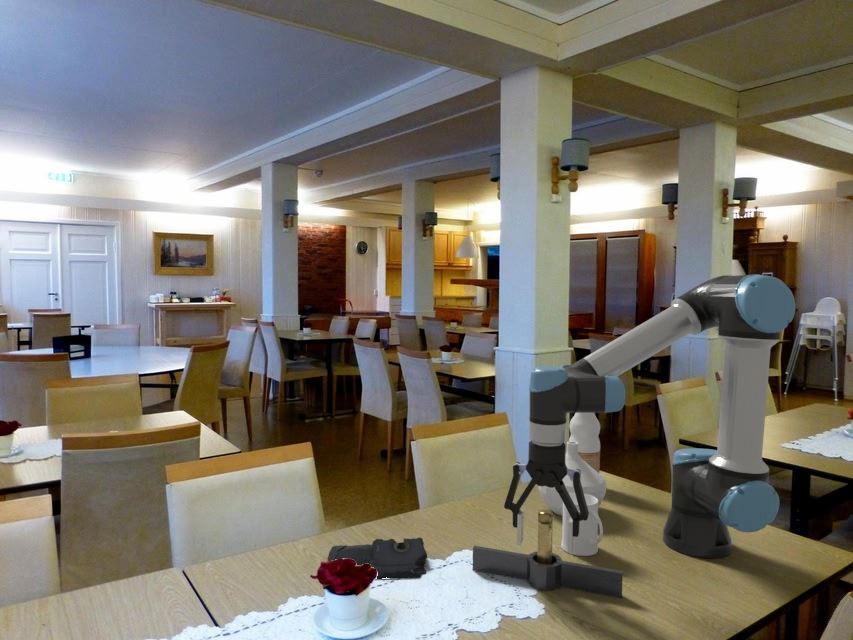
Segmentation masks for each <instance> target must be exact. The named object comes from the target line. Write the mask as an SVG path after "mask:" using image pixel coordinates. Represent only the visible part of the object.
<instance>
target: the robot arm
mask: <svg viewBox="0 0 853 640" xmlns="http://www.w3.org/2000/svg"><path fill="white" fill-rule="evenodd" d="M795 313H796V301H795V297H794V295H793V291H792V290H791V289H790V287H788V286H787V285H786V284H785V282H784V281H783V280H781V279H780V278H777V277H775V276H770V275H765V274H764V275H762V274H743V275H728V274H727V275H719V276H715V277H713V278H711V279H708V280H706V281H704V282H702V283H700V284H699V285H696V286H694V287H693V288H691V289H690V290H688V291H686V292H684V293H683V294H681V295H679V296H678V297H676V298H674V299H673V300H672V301H671V304H670V306H669V307H667V308H666V309H665V310H662V311H661V312H659V313H658V314H656V315H654V316H653V317H651V318H649V319H647V320H646V321H644V322H642V323H641V324H639V325H637V326H636V327H634V328H632V329H631V330H629V331H627V332H626V333H624V334H622V335H621V336H619V337H617V338H615V339H614V340H612V341H610V342H609V343H606V344H605V345H603V346H601V347H600V348H599V349H597V350H595V351H593V352H592V353H590V354H588V355H586V356H584V357H582V358H581V359H579V360H578V361H575V362H574V363H572V364H562V365H559V366H554V365H553V366H552V365H541V366H535V367H533V368H532V369H531V371H530V376H529V388H528V390H529V419H528V438H529V440H530V441H529V442H528V461H527V463H521V462H519V461H516V462H515V463H514V465H513V467H512V472H513V473H512V479H511V483H510V486H509V488H508V492H507V495H506V498H505V501H504V504H503V508H504V509H505V510H510V511H511V513H512V528H516V529H517V530H516V532H517V533H516V545H517V546H521V545H522V543H523V542H524V521H525V520H524V519H525V517H524V514H525V512H524V510H522V509H521V508H522V506H523V505H524V503H525V502H526V500H527V499H528V497H529V496H530V494H531V493H532V491H533V489H534V488H535V486H536V485H537V487H538V486H547V487H549V488H553V487H555V489H556V491H557V492H558V493H559V495H560V497H561V499H562V501H563V503H564V505H565V507H566V508H567V510H568V512H569V514H570V516H571V517H570V520H569V533H568V553H567V554H570V555H573V554H572V551H573V548H574V537H578V535H579V522H580V521H581V520H585V521H586V520H587V519H588V516H589V512H588V508H587V504H586V500H585V496H584V493H583V489H582V485H581V481H580V478H581V470H580V469H576V470H571V469H567V467H566V464H565V457H566V452H567V444H565V442H566V441H567V414H575V413H595V414H596V413H600V414H601V413H603V414H607V413H614V412H619V411H621V410H622V408H624V406H625V402H626V389H625V385H624V382H623V381H622V379H621V378H619V376H620V375H623V373H625V372H627V371H629V370H631V369H632V368H634V367H636V366H638V365H639V364H641V363H643V362H644V361H646V360H648V359H649V358H651V357H653V356H655V355H656V354H658V353H659V352H661V351H663V350H665V349H666V348H669V346H671V345H673V344H675V343H677V342H678V341H679V340H681V339H684V338H685V337H687V336H688V335H693V336H697V335H699V334H700V333H702V332H704V331H706V330H708V329H713V328H718V333H717V334H718V335H717V337H718V338H719V339H720V340H721V342H723V344H724V355H723V356H724V357H723V368H722V369H723V371H722V382H721V383H722V384H721V394H720V395H721V397H720V409H719V424H718V437H717V449H712V448H711V449H710V448H697V447H696V448H694V447H693V448H681V449H678V450H675V452H674V453H673V458H672V463H671V466H672V473H671V474H672V478H671V479H672V480H671V483H672V485H671V507H670V508H671V509H670V512H669V514H668V516H667V519H666V522H665V523H664V526H663V529H662V541H663V543H664V544H665V545H666V546H667V547H669V548H671V549H672V550H674V551H676V552H678V553H682V554H684V555H688V556H693V557H697V558H703V559H704V558H706V559H718V558H723V557H726V556H728V555H730V554H731V553H732V548H733V547H732V544H733V542H732V537H731V534H730V531H729V527H730V528H733V529H734V530H736V531H738V532H741V533H756V532H759V531H761V530H763V529H765V528H766V527H767V526H768V524H769V525H770V524H771V523H773V521H774V519H775V518H776V517H777V515H778V513H779V510H780V509H779V508H780V497H779V494H778V492H777V491H776V490H775V488H774V487H773V485H771V484H769V481H770V480H769V479H770V468H769V466H768V465H767V464H766V463H765V461H764V460H763V449H764V439H765V437H764V435H765V424H766V411H767V400H768V399H767V398H768V388H769V387H768V386H769V385H768V384H769V383H768V382H769V371H770V363H771V362H770V360H771V359H770V358H771V349H772V347H773V346H775V345H776V344H777V343H779V342H780V340H781V331H783V330H784V329H786V328H787V327H788V326H789V323H792V321H793V319H794V317H795ZM525 471H526V472H527V473H528V475H529V477H530V478H531V480H530V481H529V483H528V485H527V486H526V488H525V489H524V490H523V492H522V494H521V495H520V497H519V499H518V500H517V501H516V503H515V502H513V501H514V499H515V495H516V493H517V489H518V486H519V483H520V479H521V476H522V475H523V474H524V473H525ZM566 475H568V476H569V477H570V480H571V481H573V487H574V491H575V494H576V498H577V502H578V506H579V510H580V512H578V510H577V508H576V506H575V505H574V503H573V501H572V499H571V497H570V495H569V493H568V491H567V489H566V487H565V484H564V482H563V480H562V479H563V478H564V477H565V476H566Z"/></svg>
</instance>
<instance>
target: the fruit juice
mask: <svg viewBox="0 0 853 640" xmlns="http://www.w3.org/2000/svg"><path fill="white" fill-rule="evenodd" d="M569 431H570V437H569V438H568V442H569V441H573V442H577V443H578V455H579V456H580V457H581V459H583V460H584V461H585V462H586V463H587V464H588V465H589V466H591V467H592V468H593V469H594V470H595V471H597V472H598V473H599V474H600V473H601V469H600V466H601V462H600V460H601V442H600V441H601V440H600V437H599V434H600V431H601V423H600V421H599V420H598V418H597V416H596V413H574V416H572V418H571V419H570V422H569Z"/></svg>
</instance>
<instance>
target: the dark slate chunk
mask: <svg viewBox="0 0 853 640" xmlns="http://www.w3.org/2000/svg"><path fill="white" fill-rule="evenodd" d="M340 558H351V559H354V560H355V561H356V563H357V565H362V564H365V563H369V564H371V566H372V567H374V568H376V569H377V571H378V576H377V579H380V580H382V578H386V577H387V578H405V579H419V578H421V576H422V574H423V575H426V574H427V572H426V569H425V568H424V567H425V565H426V562H427V558H428V553H427V551H426V549H425V544H424V540H423V538H422V537H419V536H418V537H417V538H403V541H402V542H397V541H396V540H395V539H394V538H390V539H386V540H384V539H382V538H376V539H374V540H373V541H372V544H369V543H368V544H367V543H366V544H356V545H347V544H345V545H333V546H332V547H331V548H330V550H329V552H328V557H327V562H328V561H331V560H335V559H340Z"/></svg>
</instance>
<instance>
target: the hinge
mask: <svg viewBox="0 0 853 640" xmlns="http://www.w3.org/2000/svg"><path fill="white" fill-rule="evenodd" d="M537 554H538V551H533V552H532V553H529V554H526V553H520V552H515V551H514V552H513V551H508V550H503V549H496V548H490V547H486V546H480V545H474V546H473V547H472V571H475V570H476V571H475V572H482V573H485V574H486V573H487V574H491V575H498V576H502V577H508V578H512V579H519V580H523V581H526V582H527V584H528V585H529V586H530V587H532V588H533V589H536V590H538V591H539V590H540V591H545V592H549V591H556V590H558V589H560V588H565V589H572V590H576V591H577V590H578V591H583V592H587V593H592V594H599V595H602V596H603V595H604V596H608V597H614V598H619V599H622V598H623V580H624V579H623V578H624V577H623V573H624V571H623V570H619V569H618V570H617V569H613V568H608V567H607V568H606V567H602V566H595V565H589V564H585V563H584V564H583V563H577V562H573V561H566V560H563V559H562V557H560V555H558V554H556V553H554V552H552V564H550V565H545V564H539V563H537Z"/></svg>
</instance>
